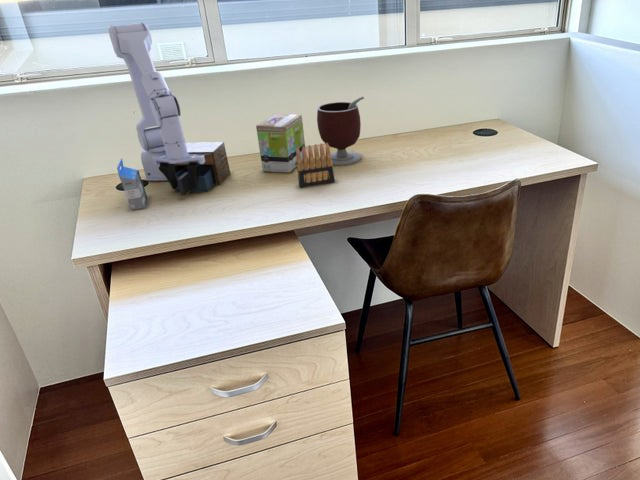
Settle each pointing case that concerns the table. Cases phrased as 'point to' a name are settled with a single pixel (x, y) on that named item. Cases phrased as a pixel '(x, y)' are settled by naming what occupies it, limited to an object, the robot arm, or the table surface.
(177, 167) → the drawer pedestal
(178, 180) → the storage box
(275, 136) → the tea box
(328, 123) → the mate gourd
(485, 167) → the table surface
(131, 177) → the label tape box
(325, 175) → the ammunition clip
